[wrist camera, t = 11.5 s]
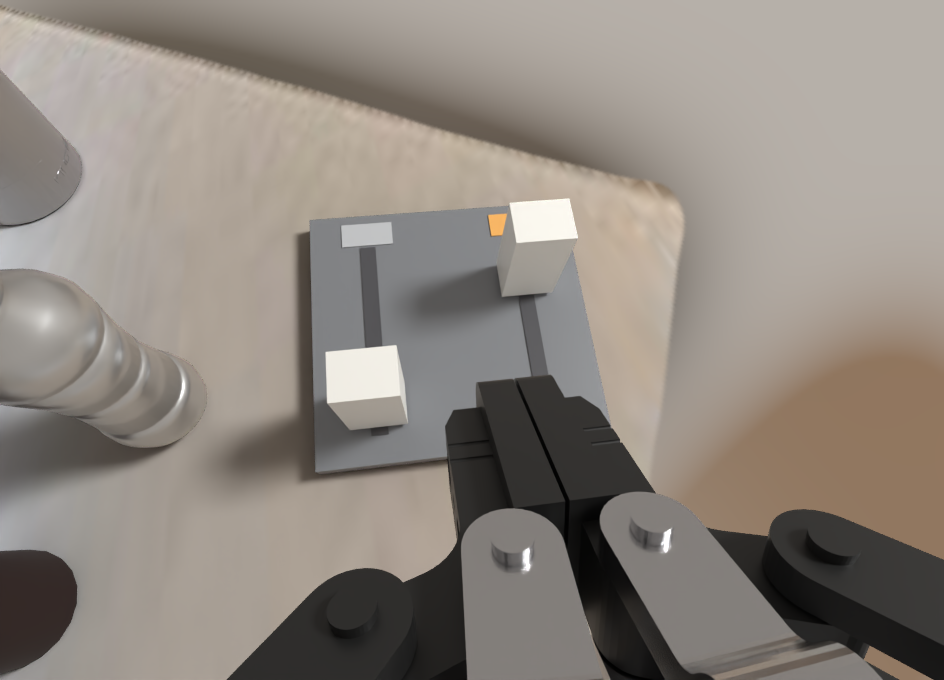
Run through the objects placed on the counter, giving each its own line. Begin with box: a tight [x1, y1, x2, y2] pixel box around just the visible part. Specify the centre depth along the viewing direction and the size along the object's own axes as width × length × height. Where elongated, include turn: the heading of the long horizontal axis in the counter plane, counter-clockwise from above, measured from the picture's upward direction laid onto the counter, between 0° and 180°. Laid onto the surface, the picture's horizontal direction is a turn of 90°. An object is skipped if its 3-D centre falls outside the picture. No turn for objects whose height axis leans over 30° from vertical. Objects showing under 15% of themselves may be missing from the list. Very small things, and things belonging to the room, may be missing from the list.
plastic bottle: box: [0, 269, 207, 448], centre depth 28 cm, size 6×7×20 cm
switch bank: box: [310, 206, 612, 474], centre depth 40 cm, size 21×20×2 cm
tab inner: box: [326, 345, 408, 430], centre depth 33 cm, size 4×3×8 cm
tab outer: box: [496, 199, 578, 297], centre depth 37 cm, size 4×3×8 cm
